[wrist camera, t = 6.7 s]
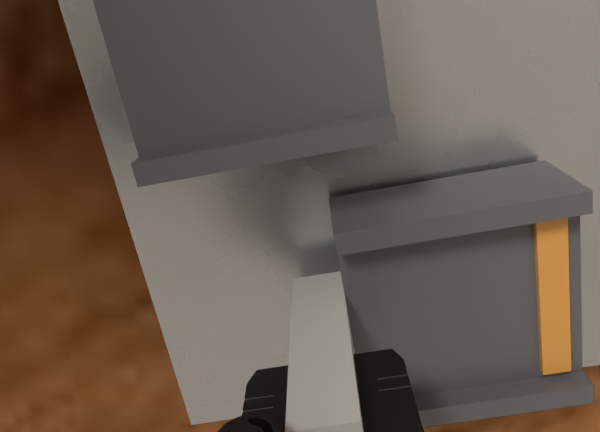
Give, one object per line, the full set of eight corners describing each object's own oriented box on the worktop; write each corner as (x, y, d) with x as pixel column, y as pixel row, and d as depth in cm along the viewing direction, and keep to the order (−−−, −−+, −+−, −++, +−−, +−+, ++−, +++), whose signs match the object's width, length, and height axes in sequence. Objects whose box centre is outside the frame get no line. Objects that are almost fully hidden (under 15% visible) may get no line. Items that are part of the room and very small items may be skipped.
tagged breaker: (360, 374, 19) (369, 434, 16) (329, 197, 17) (332, 234, 14) (552, 345, 19) (594, 403, 16) (545, 160, 16) (592, 190, 14)
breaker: (165, 157, 17) (137, 187, 14) (98, -84, 14) (49, -105, 12) (382, 117, 16) (397, 140, 13) (347, -139, 14) (357, -173, 11)
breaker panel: (200, 389, 22) (185, 445, 19) (57, -90, 16) (6, -110, 14) (873, 287, 20) (964, 332, 18) (981, -292, 15) (1143, -364, 12)
